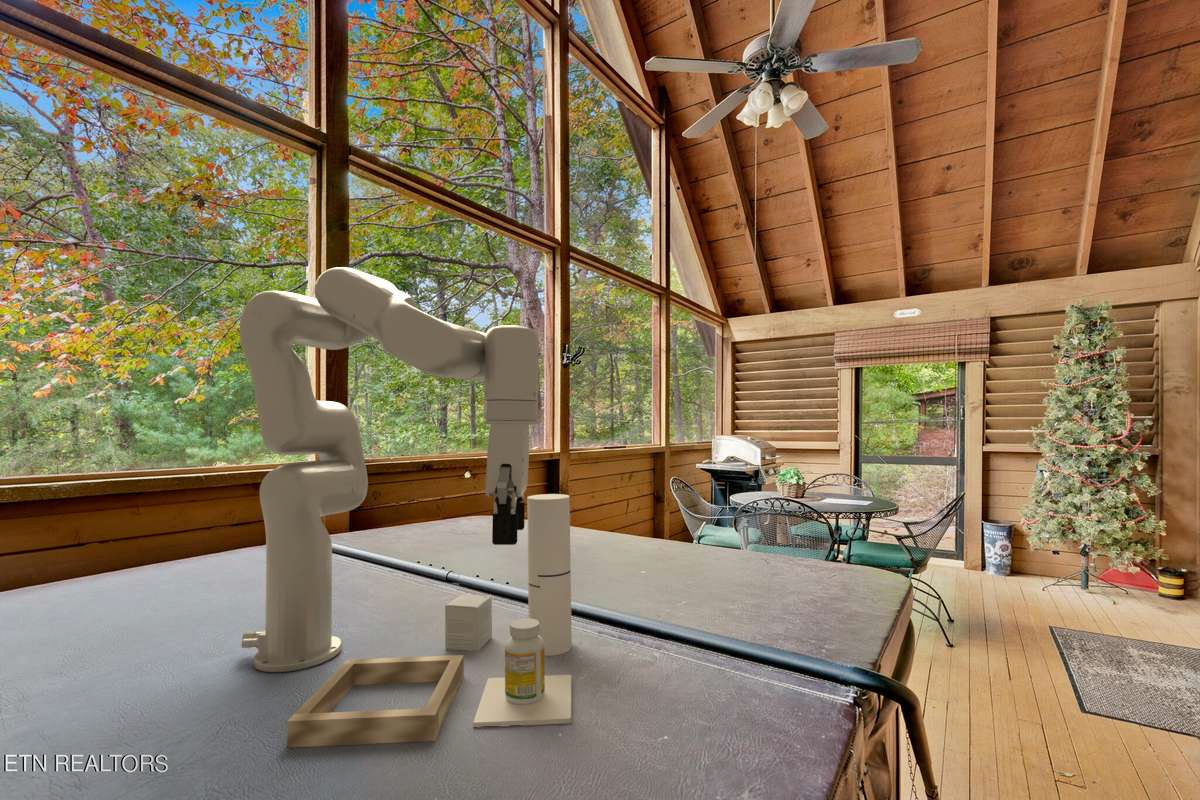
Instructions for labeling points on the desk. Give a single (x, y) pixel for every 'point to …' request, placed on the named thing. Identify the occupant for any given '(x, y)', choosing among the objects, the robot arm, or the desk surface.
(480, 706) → the pad
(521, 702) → the supplement bottle
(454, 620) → the product box
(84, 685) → the desk surface
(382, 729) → the wooden square frame
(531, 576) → the cylindrical container
